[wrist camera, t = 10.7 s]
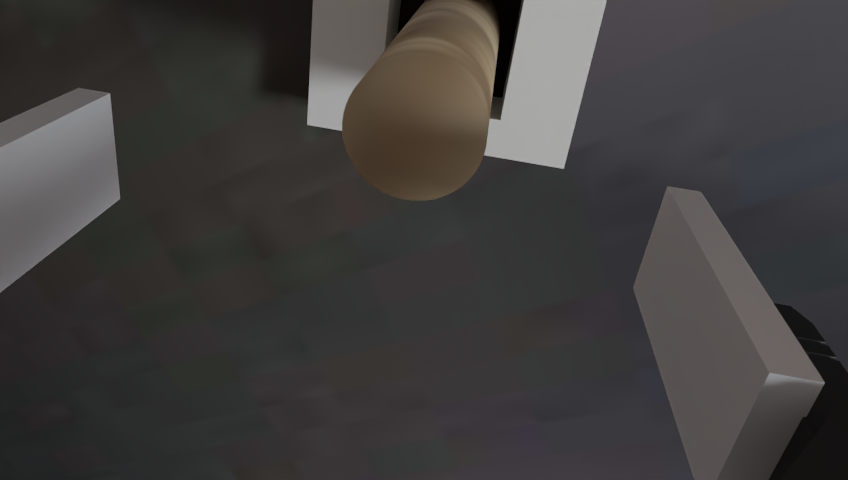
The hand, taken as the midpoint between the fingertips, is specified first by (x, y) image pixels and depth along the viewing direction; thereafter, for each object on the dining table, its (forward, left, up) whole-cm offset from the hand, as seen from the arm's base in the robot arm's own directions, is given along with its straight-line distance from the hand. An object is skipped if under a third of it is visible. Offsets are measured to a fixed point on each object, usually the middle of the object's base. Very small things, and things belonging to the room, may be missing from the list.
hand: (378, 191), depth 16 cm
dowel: (0, 0, -18) cm, 18 cm away
